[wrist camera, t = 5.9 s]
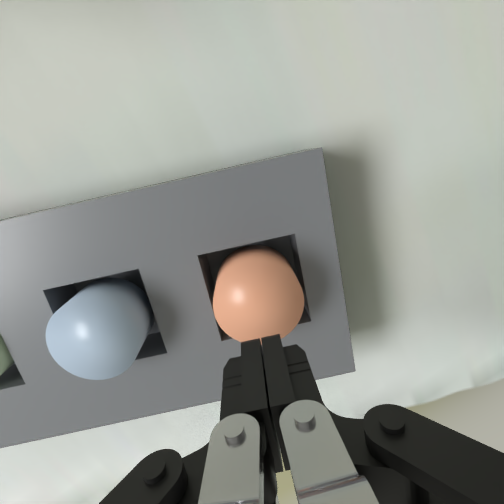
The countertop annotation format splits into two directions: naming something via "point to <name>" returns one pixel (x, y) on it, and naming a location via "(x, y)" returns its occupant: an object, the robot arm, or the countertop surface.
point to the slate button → (100, 329)
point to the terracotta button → (257, 294)
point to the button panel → (163, 289)
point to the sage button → (4, 357)
